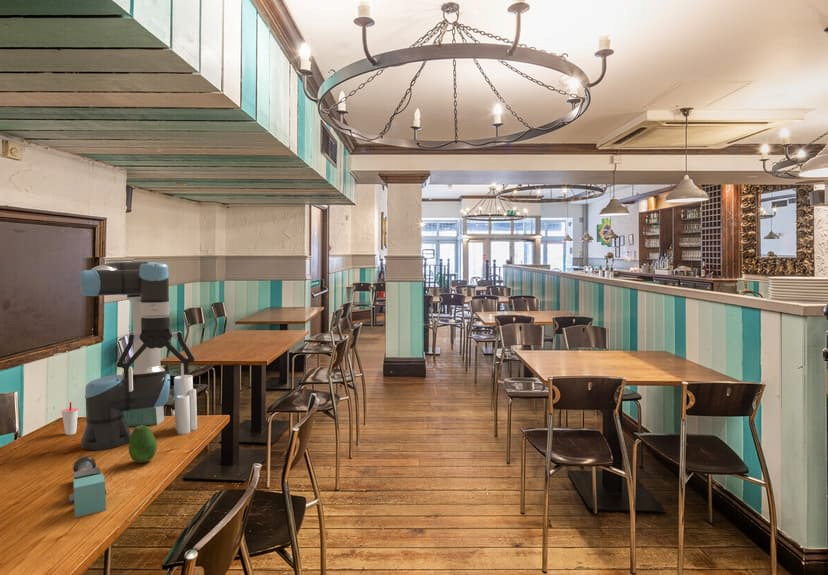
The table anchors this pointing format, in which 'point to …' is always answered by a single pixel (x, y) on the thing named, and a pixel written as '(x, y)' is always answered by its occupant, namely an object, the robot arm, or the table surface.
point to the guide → (84, 474)
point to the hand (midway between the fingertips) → (157, 388)
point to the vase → (185, 405)
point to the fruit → (142, 444)
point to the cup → (70, 420)
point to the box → (144, 416)
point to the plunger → (84, 464)
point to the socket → (89, 495)
